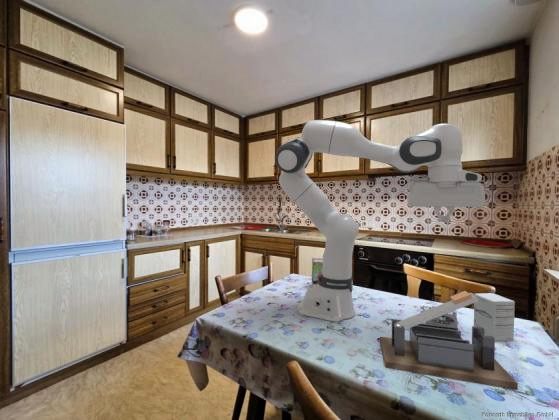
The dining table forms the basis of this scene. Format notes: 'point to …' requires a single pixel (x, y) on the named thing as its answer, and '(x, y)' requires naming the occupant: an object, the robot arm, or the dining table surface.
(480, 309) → the supplement box
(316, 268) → the tea box
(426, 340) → the heatsink board
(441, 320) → the graphics card
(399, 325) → the bar
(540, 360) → the dining table surface
